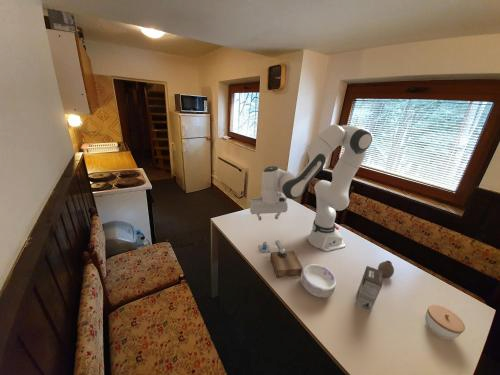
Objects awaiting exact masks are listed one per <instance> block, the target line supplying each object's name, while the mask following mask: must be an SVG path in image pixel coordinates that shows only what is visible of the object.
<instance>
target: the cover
mask: <svg viewBox="0 0 500 375" xmlns="http://www.w3.org/2000/svg"><path fill="white" fill-rule="evenodd" d="M258 249H259V252H260V253H271V252H272V251H271V248H270V245H269V244H268V243H267V242H266V241H263V242H262V244H258Z"/></svg>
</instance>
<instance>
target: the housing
mask: <svg viewBox="0 0 500 375" xmlns="http://www.w3.org/2000/svg"><path fill="white" fill-rule="evenodd" d="M279 252H280V251H279V250H278V251H271V252H270V257H269V258H270V262H271V266H272V269H273V272H274V276H275V278H276V279H279V278H290V277H291V278H292V277H302V273H303V267H302V265H301V263H300V260H299V259H298V256H297V255H296V253H295V250H286V251H285V255H284V256H281V255H280V254H279Z"/></svg>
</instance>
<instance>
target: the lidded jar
mask: <svg viewBox="0 0 500 375" xmlns="http://www.w3.org/2000/svg"><path fill="white" fill-rule="evenodd" d="M424 320H425V322H426V324H427V327H428V329H429V330H430V331H431V332H432V333H433V334H434V335H435V336H438V337H439V338H442V339H447V340H454V339H457V338H459V337H460V336H461V334H462V333H464V332H465V330H466V326H465V323H464V321H463V320H462V319H461V318H460V317H459V316H458V315H457V314H456V312H455V313H454V312H453V311H452V310H450V309H449V308H447V307H445V306H443V305H439V304H429V306H428V307H427V310H426V312H425V319H424Z"/></svg>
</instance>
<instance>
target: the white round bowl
mask: <svg viewBox="0 0 500 375" xmlns="http://www.w3.org/2000/svg"><path fill="white" fill-rule="evenodd" d="M300 279H301V283H302V286H303V287H304V288H305V290H306V291H307V292H309V294H311V295H313V296H315V297H320V298H329V297H331V296H332V295H333V294H334V293H335V290H336V287H337V282H338V281H337V277H336V276H335V274H334V273H333V271H332V270H330V269H329V268H327V267H326V266H325V265H321V264H316V263H311V264H308V265H305V267H304V268H302V273H301V278H300Z"/></svg>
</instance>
